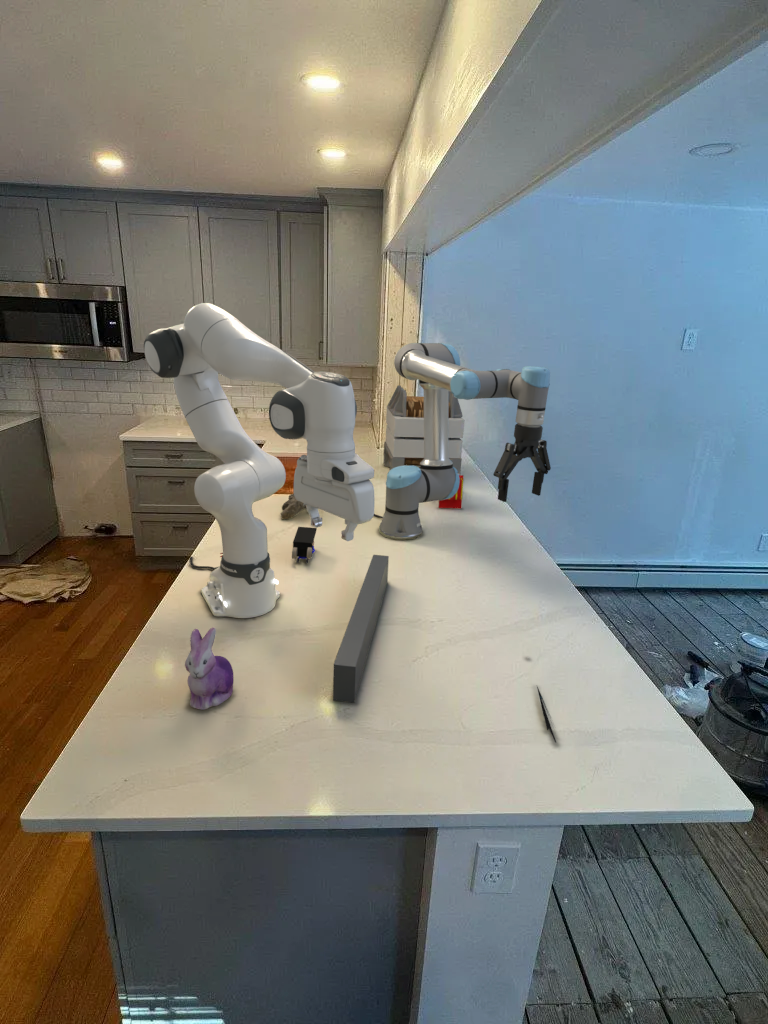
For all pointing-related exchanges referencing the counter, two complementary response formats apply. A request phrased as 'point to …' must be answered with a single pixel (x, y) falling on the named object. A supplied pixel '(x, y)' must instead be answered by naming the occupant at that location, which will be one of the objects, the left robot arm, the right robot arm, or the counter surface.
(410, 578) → the counter surface
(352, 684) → the beam
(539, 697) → the feather
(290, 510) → the fossil
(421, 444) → the white slatted crate
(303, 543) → the figurine character
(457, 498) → the toy
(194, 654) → the figurine
